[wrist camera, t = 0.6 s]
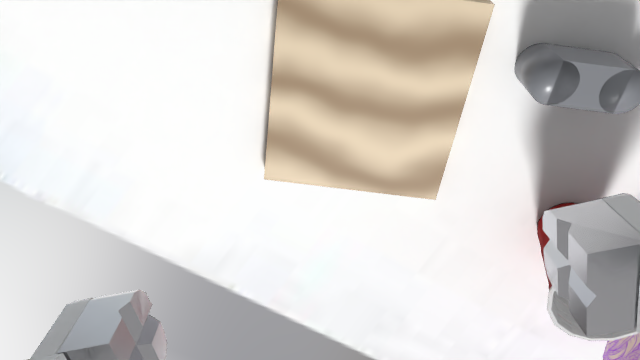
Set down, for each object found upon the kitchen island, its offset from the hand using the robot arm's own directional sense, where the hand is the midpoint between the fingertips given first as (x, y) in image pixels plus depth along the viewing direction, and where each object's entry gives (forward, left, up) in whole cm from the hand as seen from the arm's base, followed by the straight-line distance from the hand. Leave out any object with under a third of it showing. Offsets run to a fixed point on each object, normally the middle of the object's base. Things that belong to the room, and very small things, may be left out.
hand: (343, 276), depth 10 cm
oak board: (+11, +4, -38) cm, 40 cm away
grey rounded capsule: (+6, +22, -38) cm, 44 cm away
